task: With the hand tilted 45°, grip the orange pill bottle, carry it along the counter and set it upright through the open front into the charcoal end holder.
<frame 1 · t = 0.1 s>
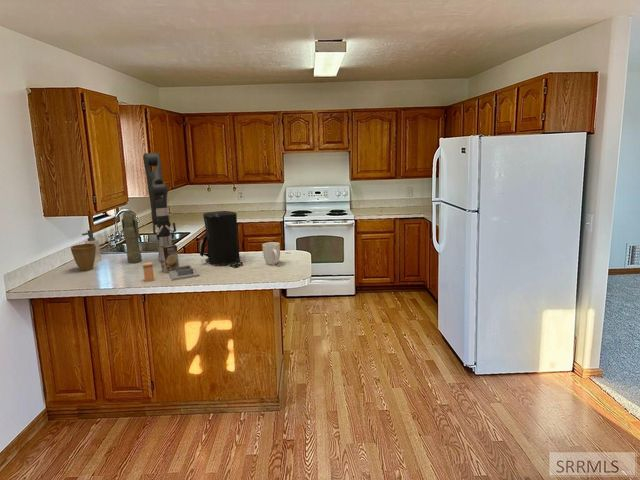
hand: (165, 239, 308), 17 cm above the countertop, tool pointing down, fingers open, 8 cm apart
soap dispenser: (93, 261, 330), on the countertop
coffee maker: (221, 263, 310), on the countertop
mug: (272, 264, 302), on the countertop
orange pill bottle: (149, 279, 280), on the countertop
plant pot: (86, 269, 309), on the countertop
coffee box: (170, 270, 298), on the countertop
thermos: (135, 262, 323), on the countertop
end holder: (183, 274, 287), on the countertop
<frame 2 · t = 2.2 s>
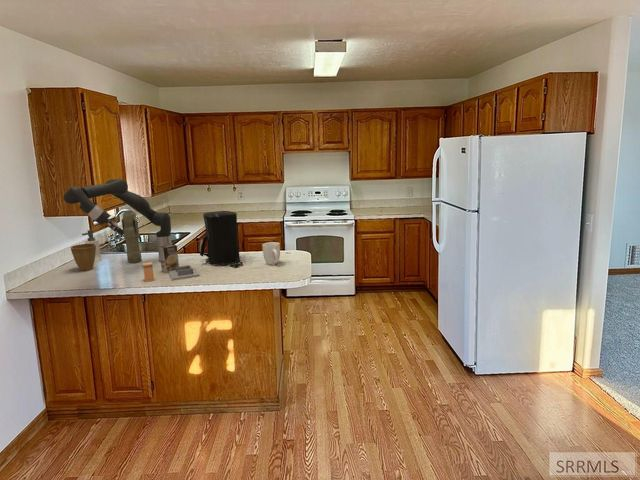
hand: (122, 233, 268), 30 cm above the countertop, tool tilted 45°, fingers open, 8 cm apart
nothing on the countertop moved.
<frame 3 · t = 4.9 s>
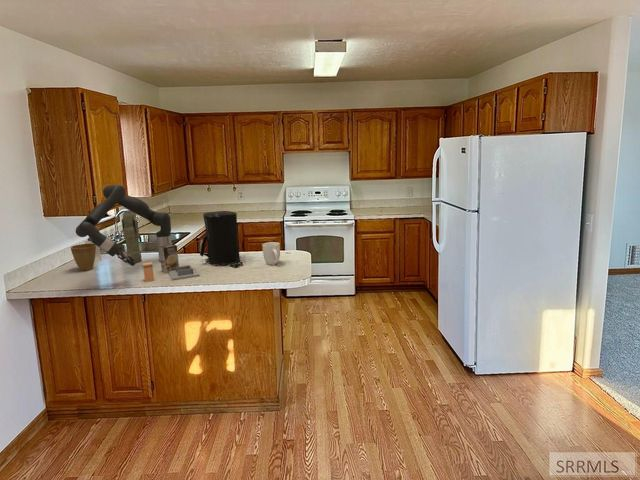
hand: (133, 263, 275), 11 cm above the countertop, tool tilted 45°, fingers open, 8 cm apart
nothing on the countertop moved.
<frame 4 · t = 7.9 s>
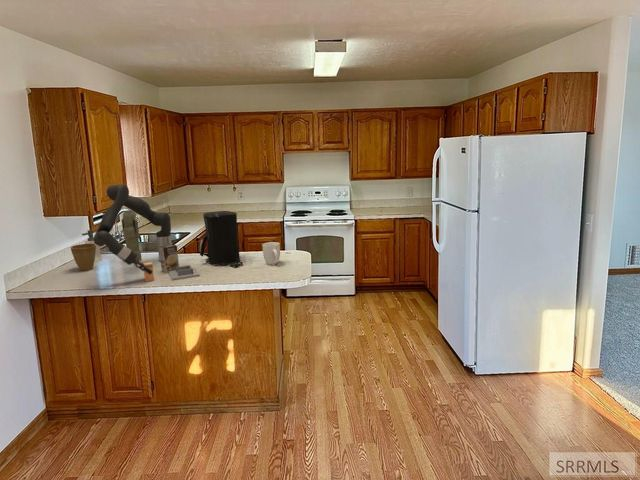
hand: (150, 271, 279), 5 cm above the countertop, tool tilted 45°, fingers closed on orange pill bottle, 5 cm apart
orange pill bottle: (149, 279, 280), on the countertop, touching gripper
everything else where it was.
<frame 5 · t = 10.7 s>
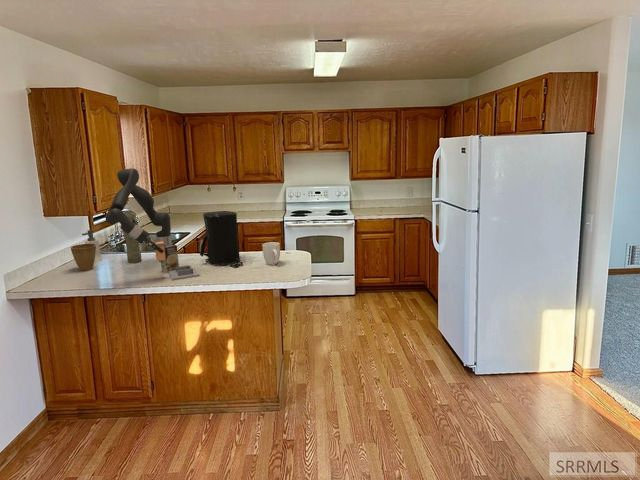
hand: (162, 251, 280), 16 cm above the countertop, tool tilted 45°, fingers closed on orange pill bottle, 5 cm apart
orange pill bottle: (160, 259, 280), point 12 cm above the countertop, touching gripper
everything else where it was.
when the fingers open (7 cm above the countertop, at t = 13.8 s): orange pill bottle drops 1 cm, resting on end holder.
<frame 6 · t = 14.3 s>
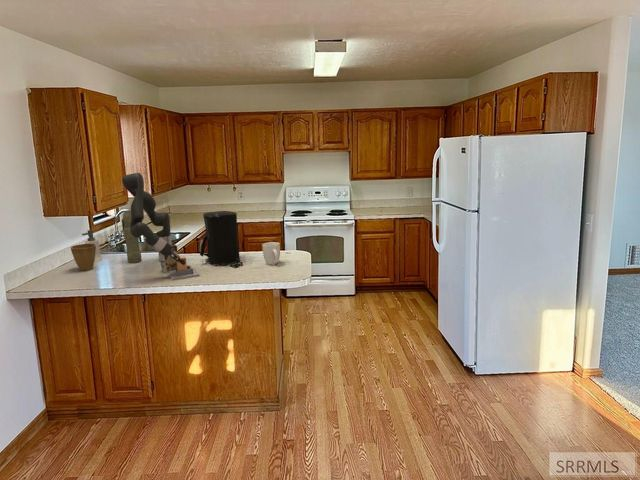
hand: (183, 262, 286), 8 cm above the countertop, tool tilted 45°, fingers open, 8 cm apart
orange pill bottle: (182, 273, 287), point 1 cm above the countertop, touching end holder
everything else where it was.
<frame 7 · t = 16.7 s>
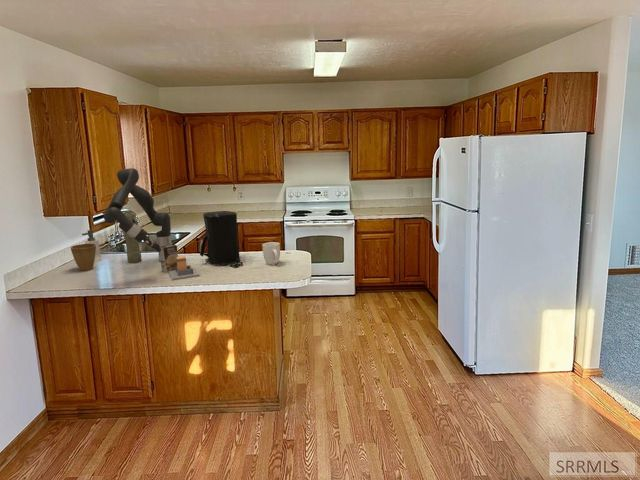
hand: (159, 249, 279), 18 cm above the countertop, tool tilted 45°, fingers open, 8 cm apart
nothing on the countertop moved.
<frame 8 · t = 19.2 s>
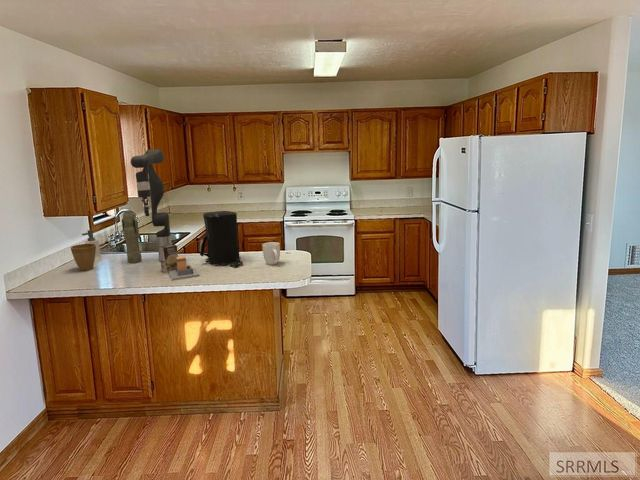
hand: (147, 215, 290), 36 cm above the countertop, tool pointing down, fingers open, 8 cm apart
nothing on the countertop moved.
at the end: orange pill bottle 0.6 cm off-centre on the end holder, point 1.0 cm above the end holder's base; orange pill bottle tilted 0°; the gripper is holding nothing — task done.
